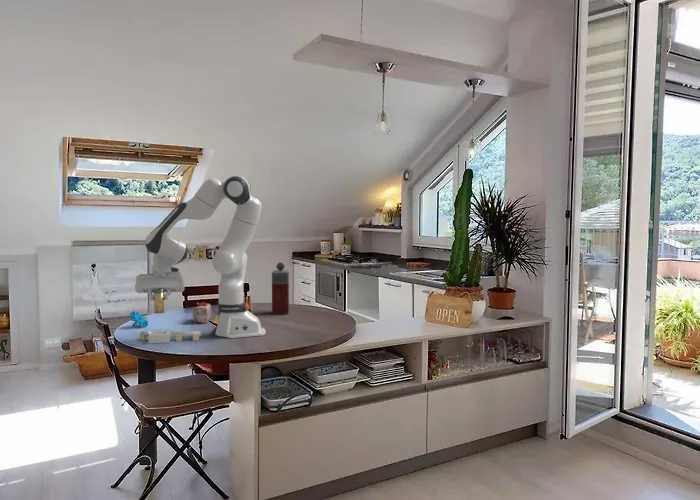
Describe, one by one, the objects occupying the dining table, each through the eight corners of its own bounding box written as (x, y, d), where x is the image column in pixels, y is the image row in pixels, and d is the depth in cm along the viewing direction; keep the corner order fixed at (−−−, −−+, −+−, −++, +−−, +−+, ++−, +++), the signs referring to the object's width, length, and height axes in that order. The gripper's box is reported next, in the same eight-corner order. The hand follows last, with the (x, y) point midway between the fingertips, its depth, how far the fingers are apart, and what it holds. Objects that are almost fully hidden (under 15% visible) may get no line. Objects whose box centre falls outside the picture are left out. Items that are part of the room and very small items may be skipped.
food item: (208, 324, 264) (208, 304, 263) (192, 324, 263) (191, 304, 262) (212, 318, 277) (211, 299, 277) (196, 318, 276) (196, 300, 276)
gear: (139, 326, 250) (127, 310, 253) (131, 334, 251) (119, 318, 253) (154, 324, 261) (142, 309, 263) (146, 332, 262) (135, 317, 264)
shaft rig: (201, 336, 236) (201, 329, 236) (200, 341, 228) (200, 333, 228) (151, 339, 232) (151, 331, 232) (148, 343, 224) (148, 335, 224)
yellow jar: (164, 311, 230) (164, 288, 230) (163, 313, 226) (163, 290, 226) (155, 311, 230) (154, 288, 229) (153, 313, 226) (153, 290, 225)
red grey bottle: (289, 310, 300) (289, 261, 298) (288, 314, 289) (288, 263, 287) (273, 310, 299) (273, 261, 297) (272, 314, 288) (271, 263, 286)
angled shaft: (152, 338, 232) (152, 331, 232) (147, 340, 229) (147, 332, 228) (145, 338, 233) (145, 330, 233) (139, 340, 230) (139, 332, 230)
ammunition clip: (252, 318, 279) (252, 295, 278) (251, 318, 277) (251, 296, 276) (232, 317, 279) (232, 295, 278) (231, 318, 277) (231, 295, 276)
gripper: (135, 269, 231) (131, 295, 223) (184, 268, 236) (182, 294, 227) (137, 278, 236) (134, 304, 227) (185, 277, 240) (184, 302, 231)
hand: (158, 299), depth 227 cm, fingers closed on yellow jar, 4 cm apart
